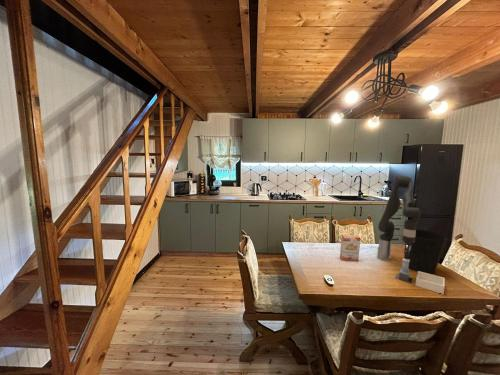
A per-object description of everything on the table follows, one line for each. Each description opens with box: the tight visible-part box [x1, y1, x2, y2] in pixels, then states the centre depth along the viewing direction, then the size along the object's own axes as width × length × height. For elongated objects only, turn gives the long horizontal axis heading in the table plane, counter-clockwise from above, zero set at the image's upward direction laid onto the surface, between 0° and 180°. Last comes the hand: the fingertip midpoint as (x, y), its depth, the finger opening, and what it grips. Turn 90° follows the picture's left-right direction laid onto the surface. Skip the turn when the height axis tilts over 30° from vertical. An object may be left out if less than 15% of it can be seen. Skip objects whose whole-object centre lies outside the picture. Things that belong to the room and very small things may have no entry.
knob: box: [398, 257, 411, 281], centre depth 173 cm, size 6×6×14 cm
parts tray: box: [415, 271, 446, 295], centre depth 165 cm, size 15×15×6 cm
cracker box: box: [339, 234, 361, 262], centre depth 205 cm, size 14×6×21 cm, turn 84°
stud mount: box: [394, 273, 414, 284], centre depth 174 cm, size 10×10×5 cm
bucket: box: [408, 229, 448, 275], centre depth 190 cm, size 27×28×30 cm
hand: (406, 257), depth 172 cm, fingers open, 8 cm apart
